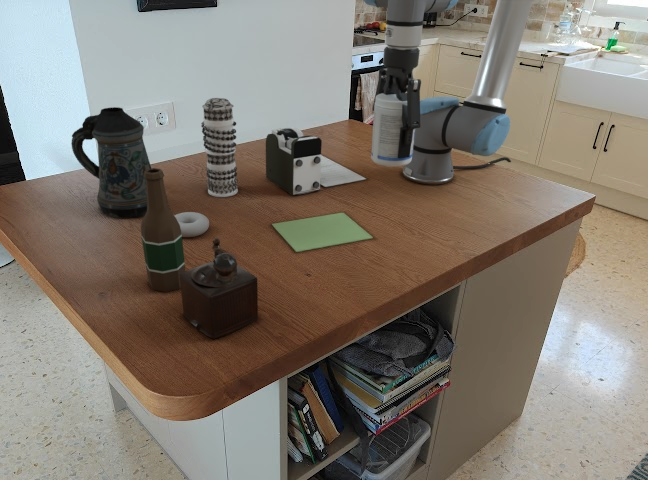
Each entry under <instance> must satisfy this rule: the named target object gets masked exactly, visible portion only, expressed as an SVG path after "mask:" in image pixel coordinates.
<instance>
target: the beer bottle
mask: <svg viewBox="0 0 648 480" xmlns="http://www.w3.org/2000/svg"><path fill="white" fill-rule="evenodd" d="M151 168H152V169H147V170H146V171H144V175H143V176H144V177H145V179H146V192H147V212H146V214H145V216H143V218H142V220H141V224H140V235H141V236H140V237H141V242H142V249H143V250H142V251H143V254H144V263H145V269H146V276H147V279H148V283H149V285H150V287H151V288H152V290H154V291H158V292H163V293H168V292H172V291H176V290H181V285H180V273H181V272H184V271H187V270H186V260H185V252H184V241H183V237H182V233H181V228H180V225H179V223H178V221H177V219H176V217H175V216H174V215H175V214H174V213H173V212H172V211H171V210H170V209H171V208H170V206H169V203H168V198H167V197H168V196H167V193H166V186H165V182H164V177H165V173H164V171H163V170H162V169H161V168H157V167H151Z"/></svg>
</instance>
